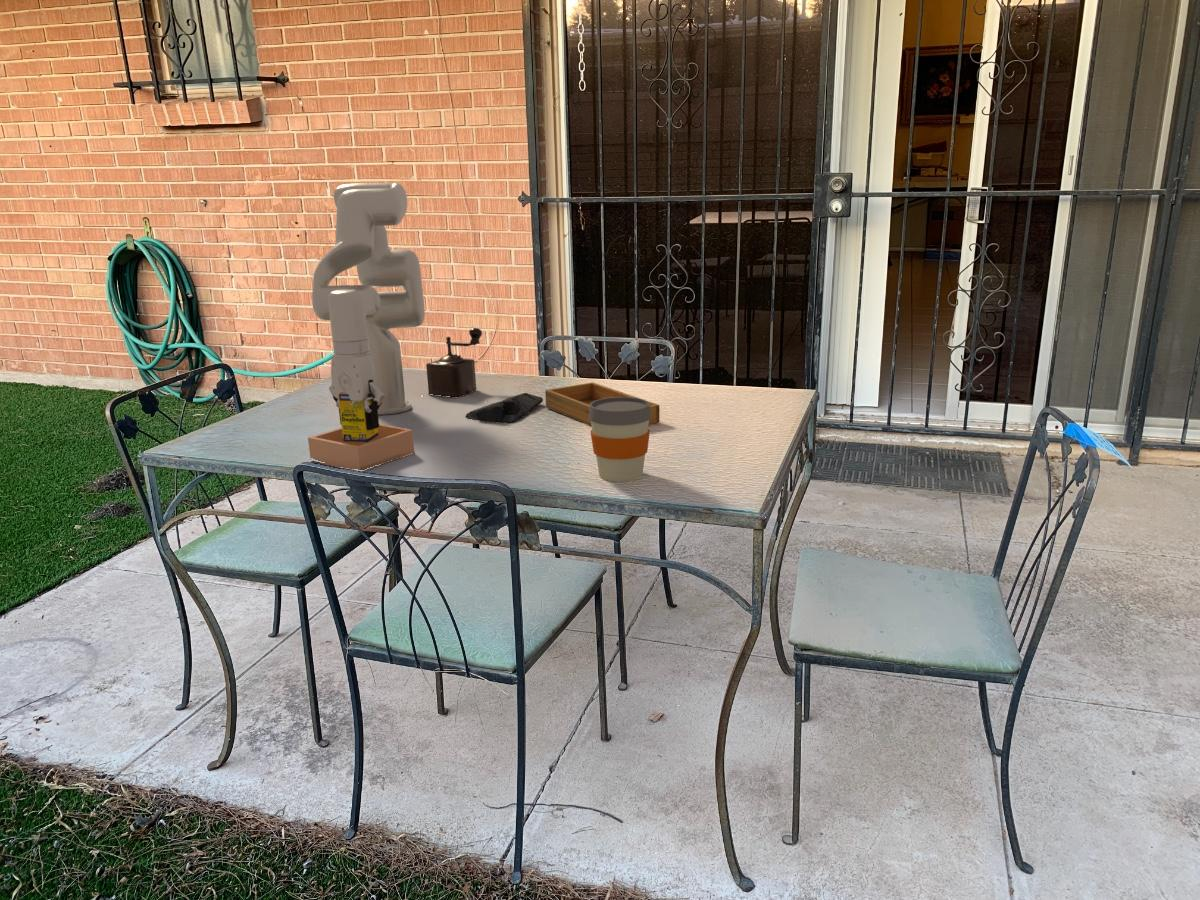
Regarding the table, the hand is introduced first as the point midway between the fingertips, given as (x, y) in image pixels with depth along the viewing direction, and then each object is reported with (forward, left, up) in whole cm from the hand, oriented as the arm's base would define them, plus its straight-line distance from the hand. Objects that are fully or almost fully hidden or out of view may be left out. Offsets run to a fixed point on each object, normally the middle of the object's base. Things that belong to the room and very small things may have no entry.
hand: (359, 425), depth 194 cm
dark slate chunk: (+3, +48, -8) cm, 48 cm away
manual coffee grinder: (-26, +60, -8) cm, 66 cm away
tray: (+27, +56, -8) cm, 63 cm away
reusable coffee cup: (+57, +18, -7) cm, 60 cm away
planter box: (0, 0, -7) cm, 7 cm away
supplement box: (0, 0, -3) cm, 3 cm away
